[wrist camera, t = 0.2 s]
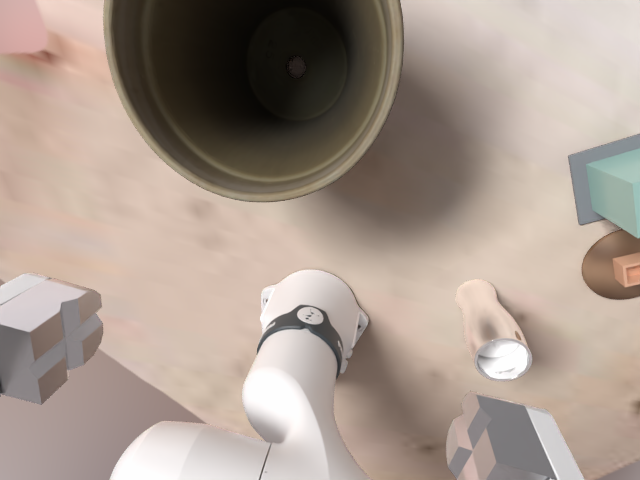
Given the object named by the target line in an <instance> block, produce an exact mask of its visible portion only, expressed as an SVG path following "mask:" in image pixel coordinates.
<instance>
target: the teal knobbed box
mask: <svg viewBox="0 0 640 480" xmlns="http://www.w3.org/2000/svg"><path fill="white" fill-rule="evenodd" d="M586 169H587V176H588V183H589V190H590V197H591V204H592V210H593V211H595V212H596V213H598V214H599V215H601V216H603V217H604V218H606V219H607V220H609V221H611V222H612V223H614V224H616V225H617V226H619V227H620V228H622V229H624V230H625V231H627V232H628V233H630V234H632V235H633V236H635V237H637V238H640V148H639V149H636V150H632V151H629V152H625V153H622V154H619V155H615V156H612V157H609V158H605V159H602V160H599V161H595V162H592V163H588V164H586Z"/></svg>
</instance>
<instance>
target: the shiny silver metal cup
mask: <svg viewBox="0 0 640 480" xmlns="http://www.w3.org/2000/svg"><path fill="white" fill-rule="evenodd" d="M455 299H456V303H457V305H458V306H459V308H460V309H461V310H462V312H463V327H464V336H465V341H466V344H467V347H468V350H469V353H470V355H471V357H472V359H473V361H474V364H475V367H476V369H477V370H478V372H479V373H480V374H481V375H483V376H484V377H486V378H488V379H490V380H494V381H511V380H514V379H517V378H519V377H521V376H522V375H524V374H525V373H526V372H527V371H528V370H529V368H530V366H531V364H532V354H531V351H530V349H529V347H528V345H527V342H526V340H525V337H524V335H523V333H522V331H521V329H520V327H519V326H518V324H517V323H516V321H515V320H514V319H513V317H512V316H511V315H510V314H509V313H508V312H507V311H506V310H505V309H504V307H503V306H502V305H501V304H500V303H499V302H498V299H497V293H496V290H495V288H494V287H493V285H491V284H490V283H489V282H487V281H485V280H481V279H473V280H469V281H466V282H464V283H463V284H462V285H460V287H459V288H458V289H457V291H456V295H455Z"/></svg>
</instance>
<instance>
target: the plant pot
mask: <svg viewBox="0 0 640 480" xmlns="http://www.w3.org/2000/svg"><path fill="white" fill-rule="evenodd" d="M103 25H104V39H105V47H106V54H107V59H108V64H109V68H110V72H111V75H112V79H113V82H114V85H115V88H116V90H117V93H118V95H119V98H120V100H121V102H122V105H123V107H124V109H125V110H126V112H127V114H128V116H129V118H130V120H131V121H132V123H133V125H134V126H135V128H136V129H137V131H138V132H139V133H140V135H141V136H142V138H143V139H144V140H145V142H146V143H147V144H148V145H149V146H150V148H151V149H152V150H153V151H154V152H155V153H156V154H157V155H158V156H159V157H160V158H161V159H162V160H163V161H164V162H165V163H166V164H167V165H168V166H170V167H171V168H172V169H173V170H175V171H176V172H177V173H179V174H180V175H182V176H183V177H184V178H186V179H187V180H189V181H190V182H192V183H194V184H196V185H197V186H199V187H201V188H203V189H205V190H207V191H210V192H212V193H215V194H218V195H221V196H223V197H227V198H231V199H235V200H240V201H248V202H277V201H285V200H290V199H294V198H298V197H301V196H305V195H308V194H310V193H313V192H315V191H318V190H320V189H322V188H324V187H326V186H328V185H330V184H331V183H333V182H335V181H336V180H338V179H339V178H340V177H342V176H343V175H344V174H346V173H347V172H348V171H349V170H350V169H351V168H353V167H354V166H355V165H356V164H357V163H358V161H359V160H360V159H361V158H362V157H363V156H364V155H365V153H366V152H367V151H368V150H369V148H370V147H371V146H372V144H373V143H374V141H375V140H376V138H377V136H378V135H379V133H380V131H381V130H382V128H383V126H384V124H385V122H386V120H387V118H388V116H389V113H390V111H391V108H392V105H393V103H394V100H395V97H396V93H397V89H398V86H399V81H400V76H401V71H402V64H403V51H404V27H403V16H402V9H401V3H400V0H104V13H103ZM292 56H300V57H302V58H303V59H304V61H305V63H306V71H305V74H304V75H303V76H302V77H301V78H298V79H296V78H292V77H291V76H290V75H289V74H288V72H287V68H286V66H287V62H288V60H289V59H290V57H292Z"/></svg>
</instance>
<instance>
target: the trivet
mask: <svg viewBox="0 0 640 480" xmlns="http://www.w3.org/2000/svg"><path fill="white" fill-rule="evenodd" d="M639 252H640V238H637V237H635V236H633V235H632V234H630V233H628V232H627V231H625V230H624V229H622V230H618V231H615V232H612V233H610V234H608V235H606V236H604V237H603V238H601V239H600V240H598V241H597V242H596V243H595V244H594V245H593V246H592V247H591V248H590V249H589V251H588V252H587V254H586V256H585V258H584V260H583V264H582V276H583V279H584V281H585V283H586V284H587V285H588V287H589V288H590V289H592V290H593V291H594V292H595V293H597V294H598V295H601V296H603V297H606V298H610V299H629V298H634V297H638V296H640V284H638V285H634V286H629V287H624V286H623V285H622V284H620V283H619V282H618V281H617V280H616V279H615V274H614V266H613V258H617V257H621V256H626V255H630V254H634V253H639Z"/></svg>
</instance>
